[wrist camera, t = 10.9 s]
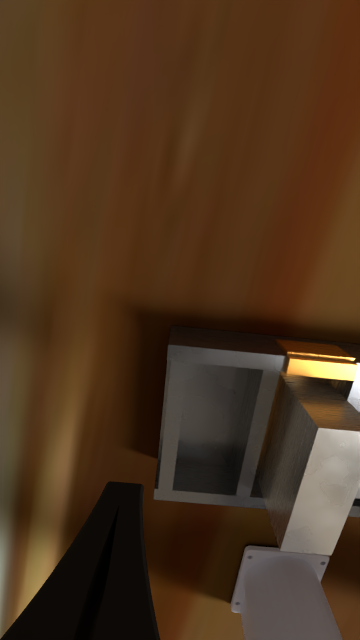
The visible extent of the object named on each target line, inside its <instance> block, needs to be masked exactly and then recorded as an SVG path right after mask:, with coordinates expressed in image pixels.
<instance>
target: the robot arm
mask: <svg viewBox="0 0 360 640" xmlns="http://www.w3.org/2000/svg"><path fill="white" fill-rule="evenodd" d="M143 493H144V486H143V485H142V484H133V483H122V482H108V483H107V484H106V486H105V488H104V490H103V492H102V494H101V496H100V498H99V500H98V502H97V503H96V505H95V507H94V509H93V510H92V512H91V514H90V516H89V517H88V519H87V521H86V522H85V524H84V525H83V527H82V528H81V530H80V532H79V533H78V535H77V536H76V538H75V540H74V541H73V543H72V544H71V546H70V547H69V549H68V550H67V552H66V553H65V554H64V556H63V557H62V559H61V560H60V562H59V563H58V565H57V566H56V567H55V569H54V570H53V572H52V573H51V575H50V576H49V577H48V579H47V580H46V582H45V583H44V584H43V586H42V587H41V588H40V590H39V591H38V592H37V594H36V595H35V596H34V598H33V599H32V600H31V602H30V603H29V604H28V605H27V607H26V608H25V609H24V611H23V612H22V613H21V614H20V616H19V617H18V618H17V619H16V621H15V622H14V623H13V624H12V626H11V627H10V628H9V629H8V630H7V632H6V633H5V634H4V635H3V637H2V638H1V639H0V640H160V637H159V632H158V627H157V622H156V617H155V612H154V607H153V601H152V595H151V589H150V583H149V576H148V569H147V562H146V554H145V544H144V534H143V514H142V506H143ZM328 562H329V556H328V555H321V554H309V553H297V552H285V551H280V550H279V548H273V547H261V546H247V547H246V548H245V550H244V554H243V558H242V562H241V566H240V570H239V574H238V577H237V581H236V585H235V589H234V593H233V597H232V601H231V610H232V611H233V612H237V613H241V618H242V625H243V631H244V638H245V640H343V639H342V636H341V634H340V631H339V629H338V626H337V624H336V621H335V619H334V616H333V614H332V611H331V609H330V606H329V604H328V601H327V599H326V596H325V594H324V591H323V589H322V586H321V584H320V582H321V579H322V577H323V574H324V572H325V569H326V567H327V564H328Z"/></svg>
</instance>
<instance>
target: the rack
mask: <svg viewBox="0 0 360 640" xmlns="http://www.w3.org/2000/svg"><path fill="white" fill-rule="evenodd" d="M280 371H282V372H285V373H286V374H289V375H299V376H310V377H320V378H325V379H326V380H327V381H328V382H329V383H330V384H331V385H332V386H333V387H334V388H335V389H336V390H337V391H338V392H339V393H340V394H341V395H342V396H343V397H344V398H345V399H346V400H347V401H348V402H349V403H350V404H351V405H352V406H353V407H354V408H355V409H356V410H357V411H358V412H359V413H360V344H354V343H344V342H334V341H324V340H314V339H303V338H293V337H283V336H273V335H263V334H253V333H243V332H233V331H223V330H213V329H203V328H193V327H183V326H173V325H171V329H170V336H169V343H168V353H167V370H166V381H165V391H164V402H163V412H162V422H161V433H160V443H159V454H158V464H157V472H156V481H155V490H154V499H155V500H166V501H178V502H190V503H201V504H213V505H224V506H236V507H247V508H259V509H267V508H266V505H265V502H264V498H263V495H262V492H261V489H260V486H259V482H258V479H257V476H256V469H257V465H258V461H259V457H260V453H261V449H262V444H263V440H264V436H265V432H266V428H267V424H268V420H269V416H270V412H271V407H272V403H273V399H274V395H275V391H276V387H277V383H278V379H279V375H280ZM348 516H352V517H360V487H359V489H358V492H357V494H356V496H355V499H354V501H353V504H352V506H351V509H350V511H349V514H348Z"/></svg>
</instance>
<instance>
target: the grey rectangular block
mask: <svg viewBox="0 0 360 640" xmlns="http://www.w3.org/2000/svg"><path fill="white" fill-rule="evenodd" d="M256 476H257V479H258V482H259V486H260V489H261V492H262V495H263V498H264V502H265V505H266V508H267V511H268V515H269V518H270V521H271V524H272V528H273V531H274V534H275V537H276V540H277V544H278V547H279V550H280V551H285V552H297V553H309V554H321V555H332V553H333V551H334V548H335V546H336V543H337V541H338V538H339V536H340V533H341V531H342V528H343V526H344V524H345V521H346V519H347V516H348V514H349V511H350V509H351V506H352V504H353V501H354V499H355V496H356V494H357V492H358V489H359V487H360V413H359V412H358V411H357V410H356V409H355V408H354V407H353V406H352V405H351V404H350V403H349V402H348V401H347V400H346V399H345V398H344V397H343V396H342V395H341V394H340V393H339V392H338V391H337V390H336V389H335V388H334V387H333V386H332V385H331V384H330V383H329V382H328V381H327V380H326V379H325V378H320V377H310V376H299V375H289V374H286V373H285V372H282V371H280V375H279V379H278V383H277V387H276V391H275V395H274V399H273V403H272V407H271V412H270V416H269V420H268V424H267V428H266V432H265V436H264V440H263V444H262V449H261V453H260V457H259V461H258V465H257V469H256Z"/></svg>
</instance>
